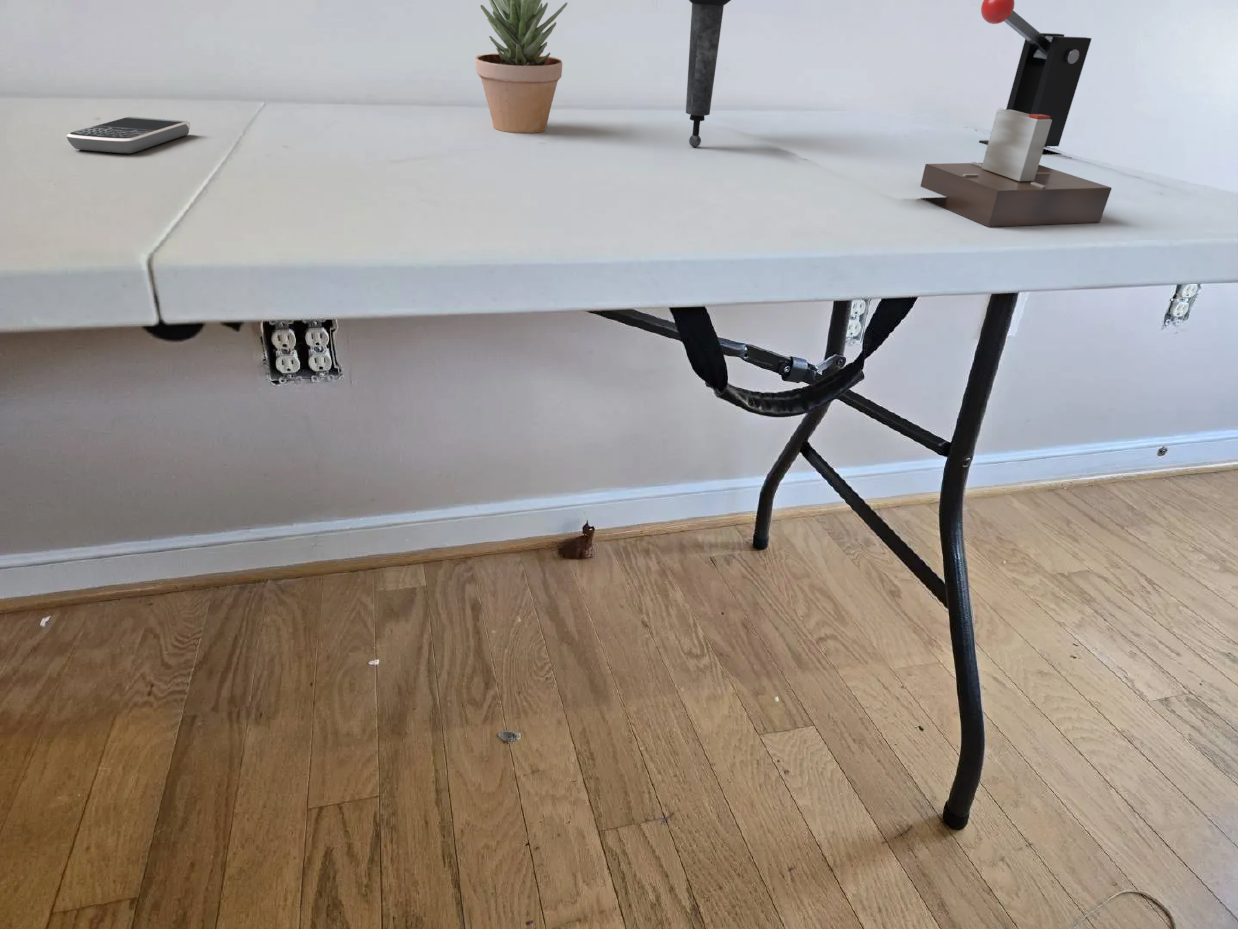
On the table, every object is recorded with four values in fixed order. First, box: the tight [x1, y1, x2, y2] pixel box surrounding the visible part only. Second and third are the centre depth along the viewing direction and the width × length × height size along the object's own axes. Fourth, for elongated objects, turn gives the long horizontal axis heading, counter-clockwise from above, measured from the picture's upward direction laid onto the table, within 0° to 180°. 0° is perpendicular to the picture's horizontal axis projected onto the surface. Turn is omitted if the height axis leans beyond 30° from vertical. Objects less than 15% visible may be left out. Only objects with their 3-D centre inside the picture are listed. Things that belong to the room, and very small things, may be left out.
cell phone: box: [66, 116, 191, 155], centre depth 80 cm, size 6×11×1 cm, turn 174°
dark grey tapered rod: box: [685, 0, 732, 148], centre depth 89 cm, size 7×7×20 cm
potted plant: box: [475, 0, 568, 134], centre depth 91 cm, size 10×10×25 cm
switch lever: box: [980, 0, 1053, 66], centre depth 92 cm, size 13×3×3 cm, turn 107°
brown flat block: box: [920, 161, 1113, 228], centre depth 76 cm, size 12×10×3 cm
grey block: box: [982, 109, 1052, 182], centre depth 74 cm, size 5×2×5 cm, turn 18°
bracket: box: [978, 32, 1092, 156], centre depth 96 cm, size 8×7×13 cm
